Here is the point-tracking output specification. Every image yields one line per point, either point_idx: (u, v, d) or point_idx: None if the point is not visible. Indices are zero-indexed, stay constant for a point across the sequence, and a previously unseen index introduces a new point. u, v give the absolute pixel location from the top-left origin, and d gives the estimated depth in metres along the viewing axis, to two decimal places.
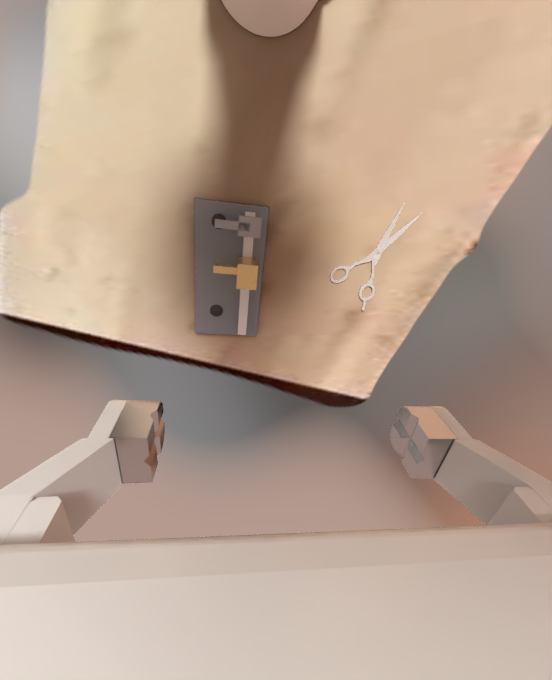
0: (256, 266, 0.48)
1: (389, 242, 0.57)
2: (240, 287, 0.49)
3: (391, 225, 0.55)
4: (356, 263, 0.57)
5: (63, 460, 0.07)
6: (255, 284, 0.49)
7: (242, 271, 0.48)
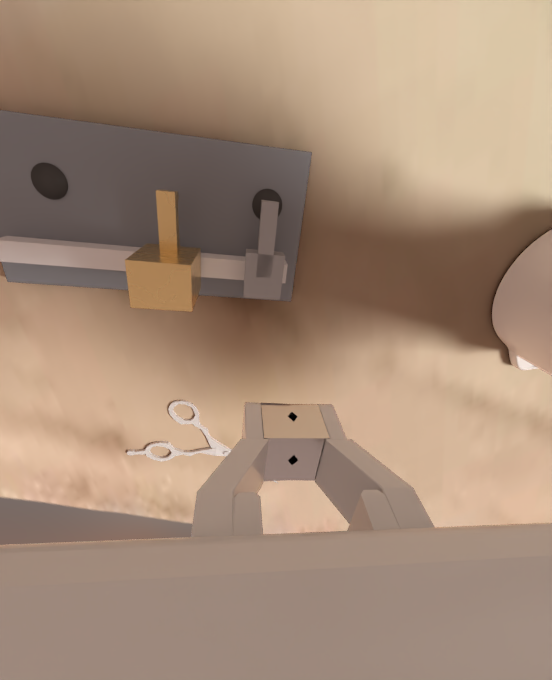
0: (190, 307, 0.21)
1: None
2: (130, 270, 0.19)
3: None
4: (205, 431, 0.37)
5: (238, 459, 0.08)
6: (145, 306, 0.21)
7: (173, 276, 0.20)
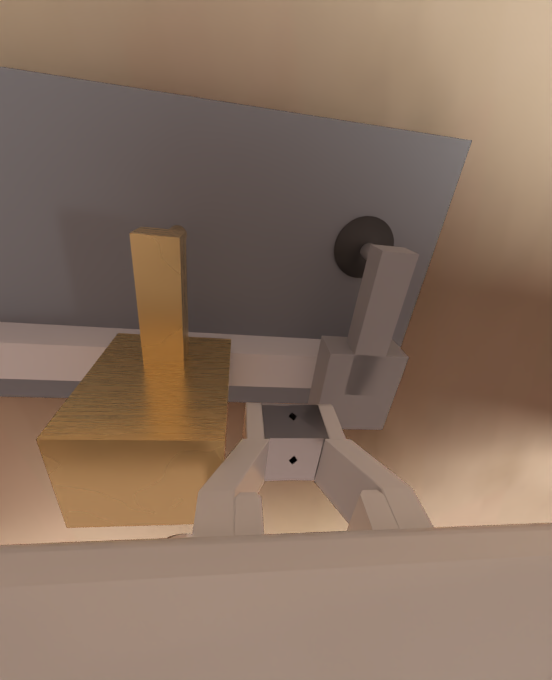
0: None
1: None
2: (56, 460, 0.07)
3: None
4: None
5: (239, 459, 0.08)
6: (104, 522, 0.08)
7: (177, 464, 0.07)
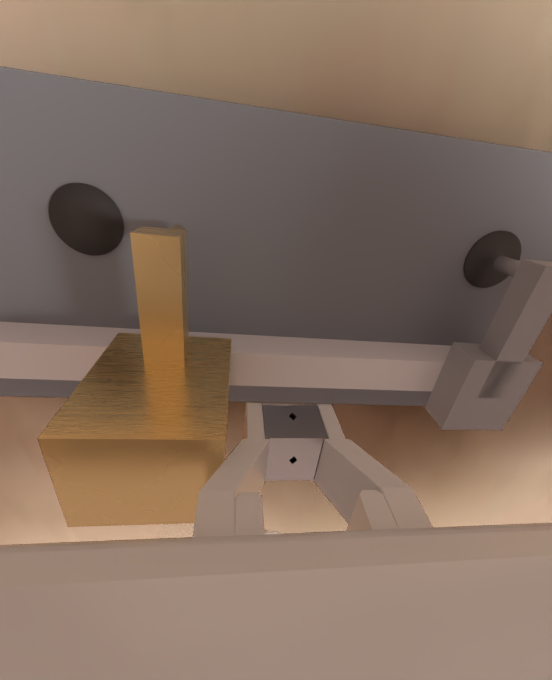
0: None
1: None
2: (57, 459, 0.07)
3: None
4: None
5: (240, 459, 0.08)
6: (105, 521, 0.08)
7: (178, 463, 0.07)
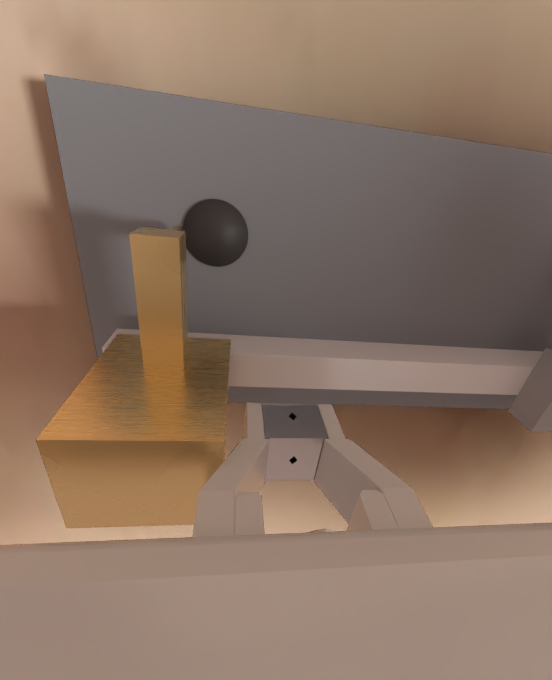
0: None
1: None
2: (56, 460, 0.07)
3: None
4: None
5: (240, 459, 0.08)
6: (104, 522, 0.08)
7: (176, 465, 0.07)
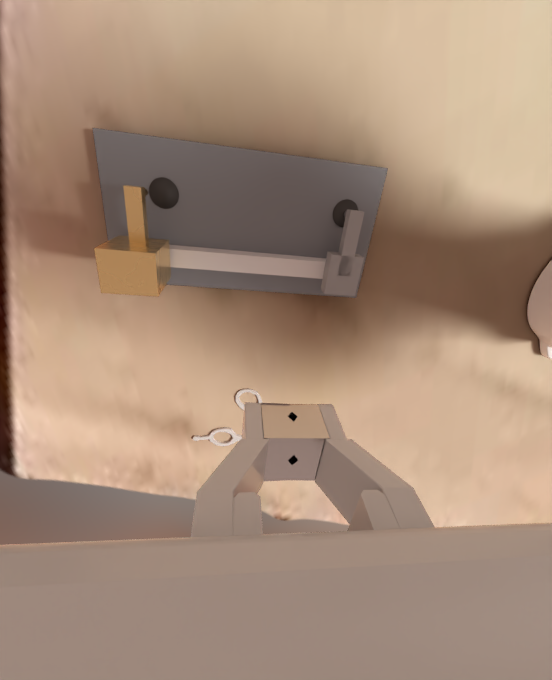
0: (156, 292, 0.23)
1: None
2: (99, 258, 0.21)
3: None
4: None
5: (238, 459, 0.08)
6: (114, 291, 0.23)
7: (139, 263, 0.22)
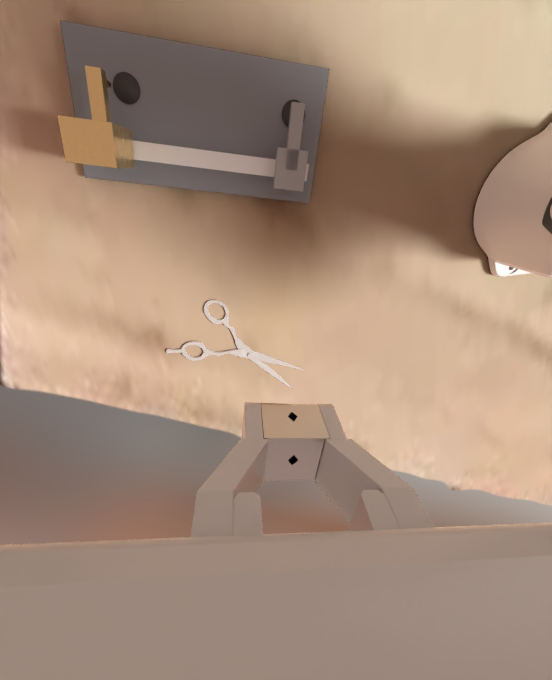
0: (115, 164, 0.26)
1: (260, 364, 0.47)
2: (62, 125, 0.24)
3: (280, 362, 0.46)
4: (233, 331, 0.43)
5: (238, 459, 0.08)
6: (77, 160, 0.26)
7: (98, 132, 0.25)
